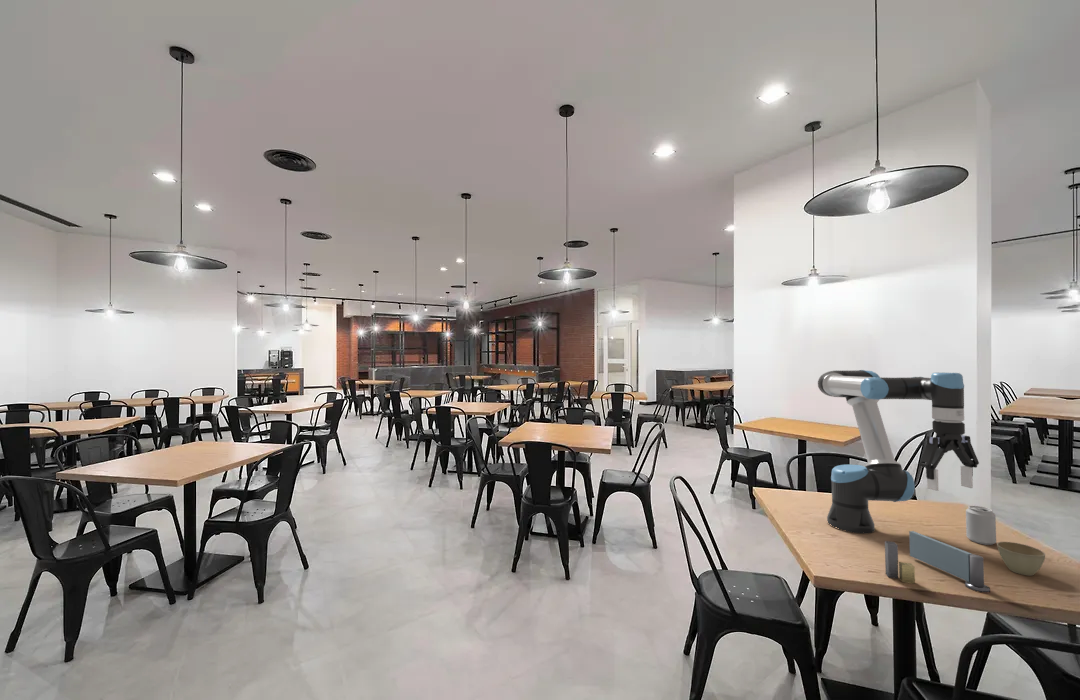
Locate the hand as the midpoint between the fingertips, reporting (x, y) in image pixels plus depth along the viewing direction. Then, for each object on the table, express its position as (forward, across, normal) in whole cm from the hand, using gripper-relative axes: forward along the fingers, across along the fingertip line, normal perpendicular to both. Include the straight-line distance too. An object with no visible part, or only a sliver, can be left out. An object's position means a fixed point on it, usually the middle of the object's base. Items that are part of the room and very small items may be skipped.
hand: (950, 488), depth 137 cm
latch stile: (+25, -24, -3) cm, 34 cm away
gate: (+24, -7, -3) cm, 25 cm away
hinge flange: (+25, -8, -12) cm, 28 cm away
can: (+25, +30, +13) cm, 41 cm away
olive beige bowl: (+25, +17, -7) cm, 31 cm away
